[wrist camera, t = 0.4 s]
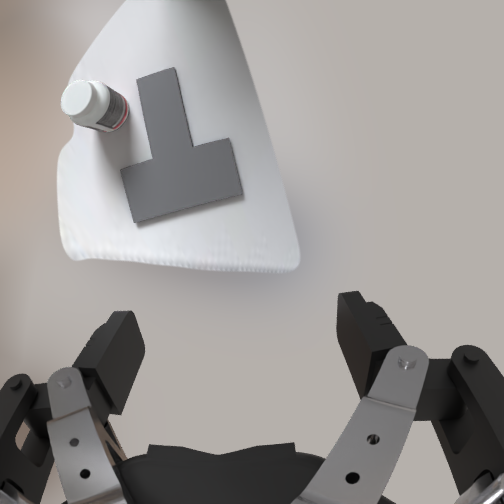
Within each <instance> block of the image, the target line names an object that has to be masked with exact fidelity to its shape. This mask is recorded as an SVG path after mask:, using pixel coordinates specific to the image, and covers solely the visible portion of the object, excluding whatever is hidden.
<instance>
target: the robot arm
mask: <svg viewBox="0 0 504 504" xmlns="http://www.w3.org/2000/svg"><path fill="white" fill-rule="evenodd" d="M336 329H337V338H338V342H339V345H340V347H341V350H342V352H343V355H344V357H345V360H346V363H347V365H348V367H349V370H350V373H351V375H352V378H353V381H354V383H355V386H356V389H357V391H358V394H359V396H360V399H361V401H360V403H359V404H358V406H357V408H356V410H355V412H354V413H353V415H352V417H351V419H350V421H349V422H348V424H347V426H346V428H345V429H344V431H343V432H342V434H341V436H340V437H339V439H338V441H337V442H336V444H335V446H334V447H333V449H332V450H331V452H330V453H329V455H328V457H327V458H326V459H325V458H322V457H319V456H316V455H313V454H307V453H301V452H296V451H295V444H294V442H293V443H285V444H274V445H262V446H255V447H251V448H247V449H243V450H239V451H235V452H231V453H226V454H221V455H214V454H210V453H205V452H201V451H197V450H193V449H189V448H185V447H177V446H162V445H151V444H149V447H148V451H147V454H143V455H139V456H135V457H132V458H129V459H128V458H127V457H126V455H125V453H124V451H123V449H122V447H121V445H120V443H119V441H118V439H117V437H116V435H115V433H114V430H113V428H112V426H111V424H110V422H109V420H108V416H109V414H116V415H121V414H122V411H123V409H124V406H125V403H126V401H127V398H128V396H129V393H130V390H131V388H132V385H133V383H134V380H135V378H136V375H137V373H138V370H139V368H140V365H141V363H142V360H143V358H144V354H145V345H144V341H143V338H142V335H141V332H140V329H139V327H138V323H137V320H136V317H135V315H134V313H133V312H132V311H114V312H113V313H112V315H111V316H110V318H109V319H108V321H107V322H106V323H104V324H103V325H101V326H100V327H99V328H98V329H97V330H96V331H95V332H94V333H93V335H92V336H91V338H90V340H89V341H88V342H87V344H86V347H84V348H83V350H82V351H81V353H80V355H79V356H78V357H77V359H76V361H75V362H74V364H73V365H72V367H65V368H62V369H60V370H58V371H56V372H54V373H53V374H52V375H51V376H50V378H49V379H48V382H47V383H42V384H33V382H32V381H31V379H30V377H29V376H28V375H26V374H17V375H15V376H13V377H11V378H10V379H8V381H7V382H6V383H5V384H4V386H3V387H2V389H1V390H0V504H40V502H41V498H42V495H43V492H44V489H45V486H46V483H47V480H48V477H49V474H50V471H51V468H52V466H53V463H54V460H55V463H56V467H57V471H58V474H59V478H60V481H61V484H62V487H63V490H64V494H65V497H66V499H67V500H66V501H65V502H63V503H62V504H396V503H394V502H392V501H391V500H389V499H388V498H386V497H384V496H383V495H382V493H383V491H384V489H385V487H386V485H387V483H388V481H389V479H390V477H391V474H392V472H393V470H394V468H395V465H396V463H397V461H398V458H399V456H400V454H401V451H402V449H403V446H404V443H405V441H406V438H407V436H408V433H409V431H410V428H411V425H412V422H413V421H430V420H431V422H432V425H433V427H434V429H435V432H436V434H437V437H438V439H439V441H440V444H441V446H442V449H443V451H444V454H445V456H446V459H447V462H448V464H449V467H450V469H451V472H452V475H453V478H454V481H455V483H456V486H457V489H458V492H459V495H460V497H459V498H458V499H457V500H456V502H455V504H504V377H503V375H502V374H501V373H500V371H499V370H498V368H497V367H496V366H495V364H494V363H493V362H492V361H491V359H490V358H489V356H488V355H487V354H486V353H485V352H484V351H483V350H482V349H480V348H478V347H476V346H472V345H463V346H459V347H458V348H456V349H455V350H454V351H453V353H452V356H451V359H429V358H428V356H427V355H426V353H425V352H424V351H422V350H421V349H419V348H417V347H414V346H408V345H407V344H406V342H405V341H404V339H403V338H402V336H401V335H400V333H399V332H398V330H397V329H396V327H395V326H394V324H392V321H391V320H390V318H389V317H388V316H387V314H386V313H385V311H384V310H383V308H382V307H380V306H378V305H377V304H375V303H374V302H365V300H364V299H363V297H362V296H361V294H360V292H359V291H352V292H345V293H339V295H338V307H337V327H336ZM23 421H24V422H25V424H26V425H27V426H28V427H29V429H30V431H29V434H28V435H27V438H26V440H25V442H24V444H23V446H22V449H21V451H20V450H19V449H18V447H17V445H16V442H15V437H16V434H17V432H18V430H19V428H20V426H21V424H22V422H23Z"/></svg>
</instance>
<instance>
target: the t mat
mask: <svg viewBox="0 0 504 504" xmlns="http://www.w3.org/2000/svg"><path fill="white" fill-rule="evenodd" d="M136 80H137V85H138V91H139V96H140V101H141V106H142V111H143V116H144V121H145V126H146V130H147V135H148V140H149V144H150V148H151V153H152V157H153V159H151V160H148V161H145V162H142V163H139V164H136V165H133V166H130V167H127V168H124V169H121V170H120V171H121V175H122V179H123V183H124V187H125V191H126V195H127V199H128V203H129V207H130V210H131V214H132V218H133V221H134V223H136V222H140V221H143V220H146V219H150V218H153V217H157V216H160V215H164V214H168V213H171V212H175V211H178V210H182V209H186V208H190V207H193V206H197V205H201V204H205V203H209V202H213V201H217V200H221V199H225V198H229V197H233V196H237V195H241V194H242V190H241V185H240V181H239V177H238V173H237V169H236V165H235V161H234V156H233V152H232V148H231V144H230V140H229V138H226V139H222V140H218V141H214V142H210V143H206V144H202V145H198V146H195V147H193V145H192V141H191V137H190V133H189V129H188V124H187V120H186V116H185V111H184V107H183V102H182V98H181V93H180V89H179V84H178V80H177V75H176V70H175V68H174V67H173V68H169V69H166V70H163V71H160V72H157V73H154V74H151V75H148V76H145V77H142V78H139V79H136Z"/></svg>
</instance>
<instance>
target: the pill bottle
mask: <svg viewBox="0 0 504 504" xmlns="http://www.w3.org/2000/svg"><path fill="white" fill-rule="evenodd" d="M61 107H62V110H63V112H64V113H65V114H67V115H69V117H70V119H71V120H72V121H73V122H74V123H75V124H77V125H79V126H83V127H87V128H91V129H94V130H98V131H102V132H112V131H114V130H116V129H118V128H119V127H120V126H121V125H122V124H123V123H124V122H125V120H126V118H127V116H128V111H129V107H128V103H127V100H126V99H125V98H124V97H123V96H122V95H120V94H119V93H117V92H116V91H114V90H113V89H111V88H109V87H108V86H106V85H105V84H103V83H102V82H99V81H94V80H93V81H85V80H77V81H74V82H72V83H71V84H70V85H69V86H68V87H67V88H66V89H65V91H64V92H63V95H62V98H61Z"/></svg>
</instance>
